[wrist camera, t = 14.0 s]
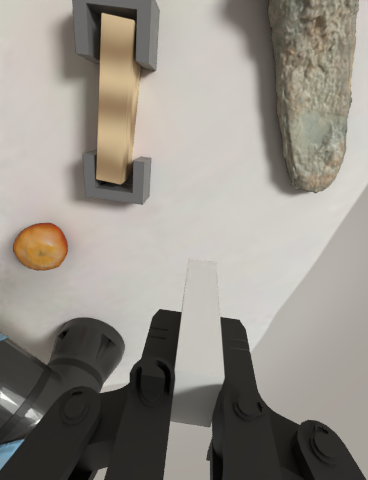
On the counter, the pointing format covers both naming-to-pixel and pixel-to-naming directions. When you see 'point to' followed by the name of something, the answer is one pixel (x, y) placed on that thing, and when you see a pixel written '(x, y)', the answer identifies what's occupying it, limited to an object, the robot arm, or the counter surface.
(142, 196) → the end caps
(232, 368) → the robot arm
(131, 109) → the oak slat
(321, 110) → the long grey stone
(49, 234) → the fruit
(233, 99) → the counter surface
